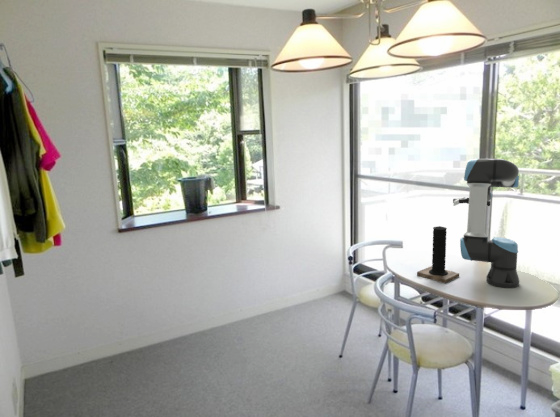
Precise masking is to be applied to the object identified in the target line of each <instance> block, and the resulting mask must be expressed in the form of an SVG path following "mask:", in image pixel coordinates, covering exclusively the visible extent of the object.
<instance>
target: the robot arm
mask: <svg viewBox="0 0 560 417" xmlns="http://www.w3.org/2000/svg"><path fill="white" fill-rule="evenodd" d="M465 166H466V167H465V170H464V176H463V179H464V181H465V182H466V185H467V186H468V187H469V196H468V197H465V196H464V197H457V198H453V199H452V204H453V206H457V205H459V204H467V205H468V211H467V226H466V232H465V233H464V234H463V236H462V237H461V238H460V240H459V244H460V245H459V246H460V254H461V258H462V260H463V259H464V260H465V261H475V262H484V263H490V268H489V270H488V273H487V275H486V283H487V284H489V285H491V286H494V287H497V288H498V287H499V288H506V289H513V288H518V287H519V286H520V282H521V281H520V278H519V274H518V272H517V266H518V253H519V251H518V249H519V245H518V243H517V242H516V241H515V240H512V239H510V238H505V237H500V236H499V237H497V236H495V237H492V239H489V236H488V235H487V234H486V223H487V222H486V221H487V207H490V206H491V201H490V200H491V199H492V197H493V194H492V192H491V188H511V189H512V188H513V189H514V188H518V187H519V184H520V183H519V181H520V176H519V173H520V172H519V167H518V166H517V165H516V164H515V163H513V162H512V161H510V160H507V159H502V158H474V159H473V158H472V159H469V160H468V161H467V162H466V165H465Z"/></svg>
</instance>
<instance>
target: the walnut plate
mask: <svg viewBox="0 0 560 417" xmlns="http://www.w3.org/2000/svg"><path fill="white" fill-rule="evenodd" d="M431 269H432V265H431V266H428V267H425V268H424V269H421V270H419V271H417V272H416V276H419V277H422V278H425V279H430V280H432V281H435V282H438V283H443V284H447V283H449V282H452V281H454V280H456V279H459V277H460V272H455V271H452V270H451V271H450V270H447V269H445V271H447V272H448V274H447V275H444V276H437V275H432V274H430V273H429V270H431Z"/></svg>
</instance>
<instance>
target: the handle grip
mask: <svg viewBox="0 0 560 417" xmlns="http://www.w3.org/2000/svg"><path fill="white" fill-rule="evenodd" d="M432 228H433V230H432V236H433V237H432V257H431V261H432V262H431V264H432V265H431V266H432V269H431V270H429V273H430V274H432V275H437V276H444V275H447V274H448V272H447V271H445V270H446V259H447V258H446V254H447V229H448V228H447V227H444V226H440V225H439V226H434V227H432Z"/></svg>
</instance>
